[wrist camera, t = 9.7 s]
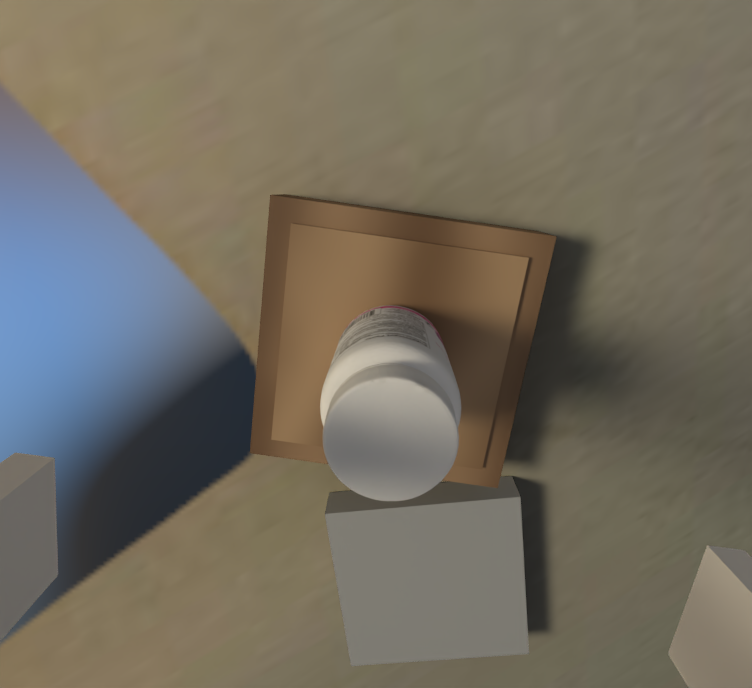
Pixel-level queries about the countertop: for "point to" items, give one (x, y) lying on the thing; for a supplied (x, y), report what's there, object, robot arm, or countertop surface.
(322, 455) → the walnut stand
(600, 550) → the countertop surface
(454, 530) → the slate tile
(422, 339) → the pill bottle
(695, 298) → the countertop surface
